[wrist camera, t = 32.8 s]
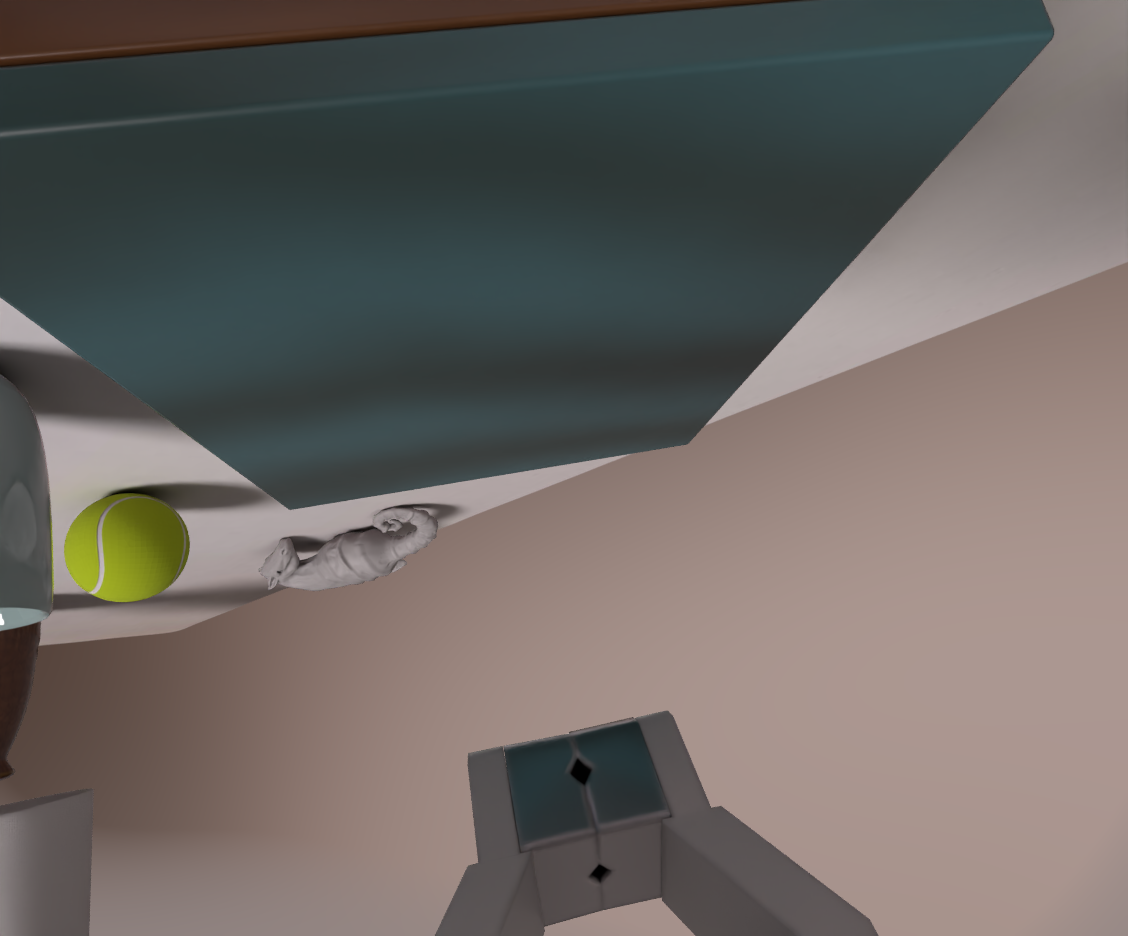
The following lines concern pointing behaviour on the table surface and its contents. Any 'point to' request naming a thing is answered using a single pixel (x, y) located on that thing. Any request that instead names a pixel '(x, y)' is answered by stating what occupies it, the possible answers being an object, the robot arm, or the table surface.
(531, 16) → the wooden box
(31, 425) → the cup
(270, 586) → the seahorse
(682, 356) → the teal box lid
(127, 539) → the tennis ball
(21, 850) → the lamp
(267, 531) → the table surface
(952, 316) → the table surface
